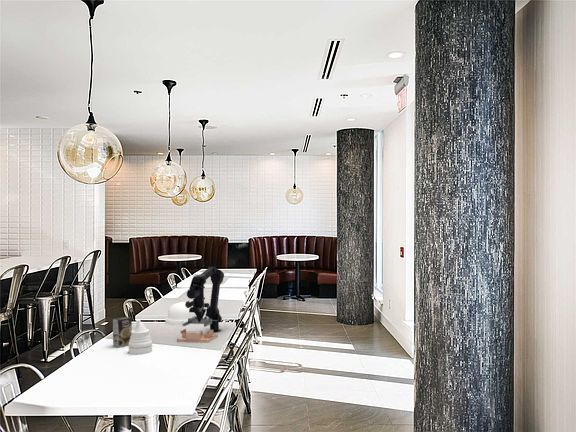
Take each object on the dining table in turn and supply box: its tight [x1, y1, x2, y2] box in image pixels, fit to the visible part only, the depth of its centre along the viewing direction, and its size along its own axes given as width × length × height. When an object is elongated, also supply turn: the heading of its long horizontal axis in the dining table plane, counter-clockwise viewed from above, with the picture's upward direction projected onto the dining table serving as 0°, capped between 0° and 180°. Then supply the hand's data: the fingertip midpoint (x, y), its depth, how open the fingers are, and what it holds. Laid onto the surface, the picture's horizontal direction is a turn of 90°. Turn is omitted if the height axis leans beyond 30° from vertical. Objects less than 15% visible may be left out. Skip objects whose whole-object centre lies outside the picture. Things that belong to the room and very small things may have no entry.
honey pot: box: [128, 319, 153, 356], centre depth 312 cm, size 13×13×18 cm
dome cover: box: [164, 300, 206, 327], centre depth 399 cm, size 32×30×14 cm
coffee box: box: [112, 316, 133, 349], centre depth 328 cm, size 9×6×16 cm
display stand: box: [176, 328, 219, 343], centre depth 341 cm, size 16×20×6 cm
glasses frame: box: [182, 316, 212, 328], centre depth 341 cm, size 10×15×4 cm
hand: (199, 321), depth 345 cm, fingers closed on glasses frame, 2 cm apart
